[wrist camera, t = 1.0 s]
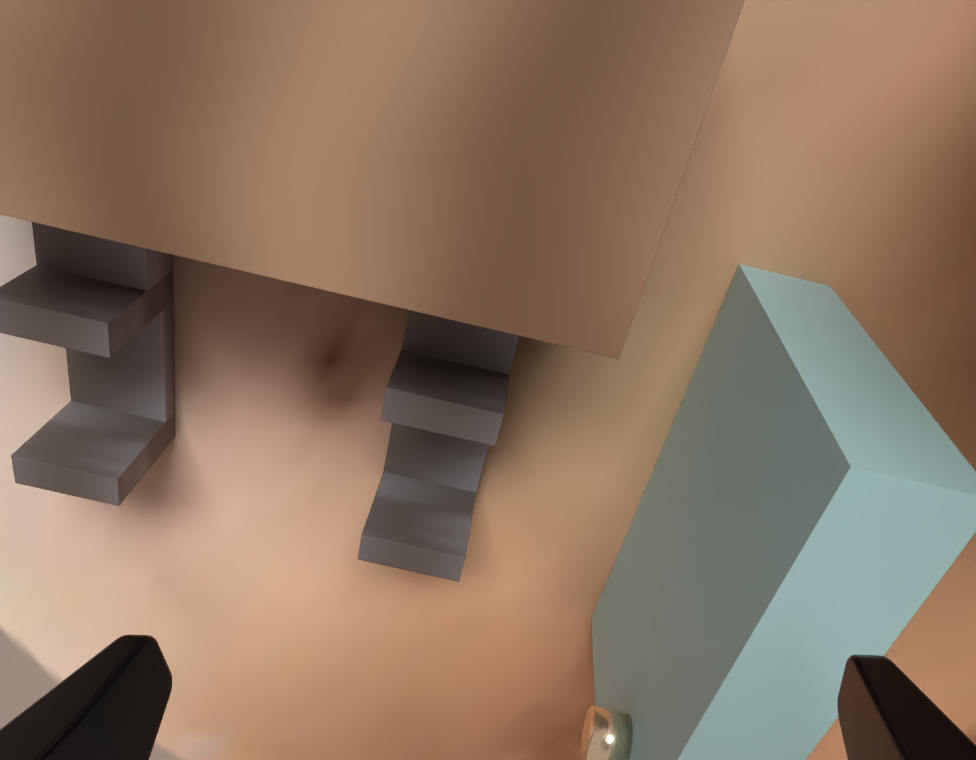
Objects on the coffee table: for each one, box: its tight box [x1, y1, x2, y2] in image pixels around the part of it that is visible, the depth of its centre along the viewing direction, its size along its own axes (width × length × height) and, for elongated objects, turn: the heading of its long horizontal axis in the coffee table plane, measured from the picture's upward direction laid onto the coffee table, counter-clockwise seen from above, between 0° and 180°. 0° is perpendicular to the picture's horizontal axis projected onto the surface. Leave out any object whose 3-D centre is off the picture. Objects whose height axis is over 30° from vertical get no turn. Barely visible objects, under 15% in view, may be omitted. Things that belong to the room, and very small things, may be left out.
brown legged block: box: [0, 0, 745, 582], centre depth 17 cm, size 16×18×7 cm
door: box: [581, 264, 976, 760], centre depth 19 cm, size 14×4×9 cm, turn 168°
